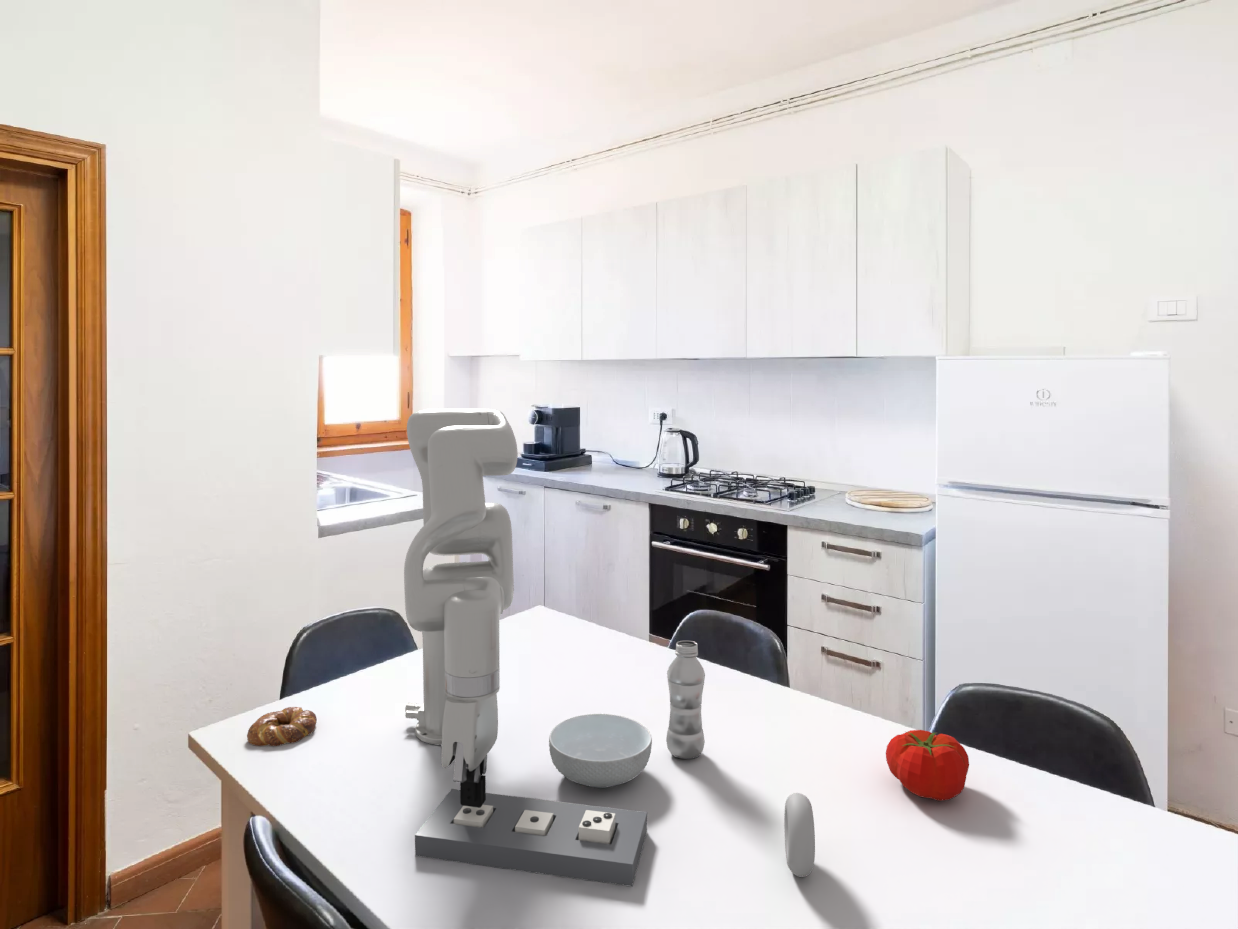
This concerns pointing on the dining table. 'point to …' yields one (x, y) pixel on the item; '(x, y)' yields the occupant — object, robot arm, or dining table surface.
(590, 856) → the button panel
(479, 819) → the button two dots
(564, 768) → the cereal bowl
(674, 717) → the plastic bottle
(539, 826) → the button one dot
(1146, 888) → the dining table surface
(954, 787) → the tomato
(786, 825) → the donut
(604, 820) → the button three dots
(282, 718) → the pretzel
